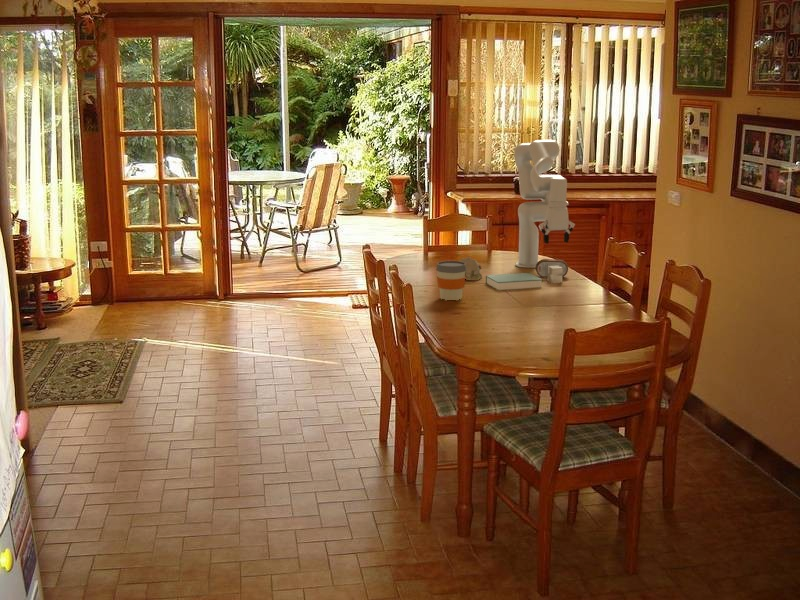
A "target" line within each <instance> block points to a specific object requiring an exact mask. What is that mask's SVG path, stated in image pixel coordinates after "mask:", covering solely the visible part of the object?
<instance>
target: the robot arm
mask: <svg viewBox="0 0 800 600" xmlns="http://www.w3.org/2000/svg"><path fill="white" fill-rule="evenodd" d="M559 154H560V146H559V143H558V142H557V140H553V139H537V140H533V141H531V142H527V143H526V142H523V143H520V144H518V145H516V146H515V148H514V153H513V156H514V162H515V165H516V168H517V171H518V183H519V194H520V197H521V199H523V200H541V201H526V202H523V203H520V204H519V206H518V208H517V215H518V225H519V227H518V232H519V233H518V257H517V258H518V261H516V262H515V264H514V265H515V266H516V267H518V268H522V269H523V268H524V269H526V268H527V269H534V268H535V269H536V264H537V263H538V261H539V238H540V237H539V236H540V235H539V233H540V232H541V233H542V235H543V243H545V244H546V245H547V244H549V243H550V239H549V238H550V235H549V233H550V232H551V231H552V232H553V231H564V233H563V242H564V243H566V244H568V243H569V241H570V234H571V232H572V231H573V230H574V227H575V226H576V223H574V222H573V221H571V220H569V211H568V207H567V206H569V204H570V203H569V202H570V201H567V189H568V180H567V178H566V177H563V175H560V174H556V175H555V174H553V175H552V174H550V175H549V174H547V175H545V174H544V175H541V174H543V173H545V172H548V171H550V169H551V168H552V167H553V165H554V163H553V162H554V161H553V160H554V159H556V158H557V157H559ZM532 163H533V164H532ZM536 222H542V223H540V224H539V225H538V227H537V225H536V224H535V223H536ZM569 225H570V227H569ZM539 231H540V232H539Z"/></svg>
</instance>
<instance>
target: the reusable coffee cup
mask: <svg viewBox="0 0 800 600" xmlns="http://www.w3.org/2000/svg"><path fill="white" fill-rule="evenodd" d="M436 271H437V276H436V280H437V281H436V282H437V287H438V288H439V296H440V297H439V298H440V300H442V299H445V300H444V301H447V300H456V301H460V300H462V299H461V298H463V291H464V288H465V284H466V280H465V271H466V263H464V262H460V260H443V261H438V262H437V264H436ZM459 299H460V300H459Z"/></svg>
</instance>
